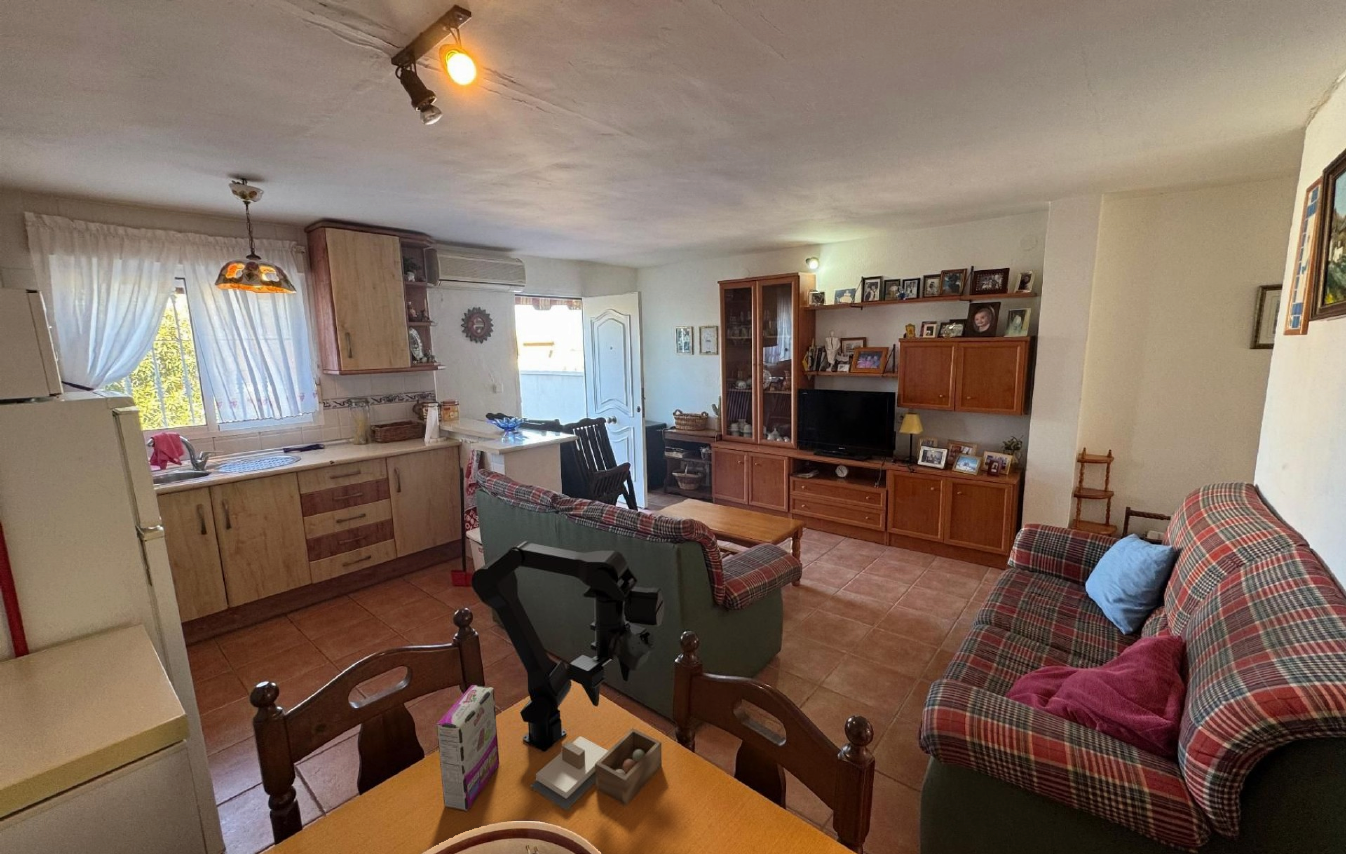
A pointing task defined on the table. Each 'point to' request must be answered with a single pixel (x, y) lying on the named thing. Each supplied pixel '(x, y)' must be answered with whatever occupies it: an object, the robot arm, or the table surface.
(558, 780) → the lid
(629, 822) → the table surface
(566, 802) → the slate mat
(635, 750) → the box
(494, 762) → the candy bar box
